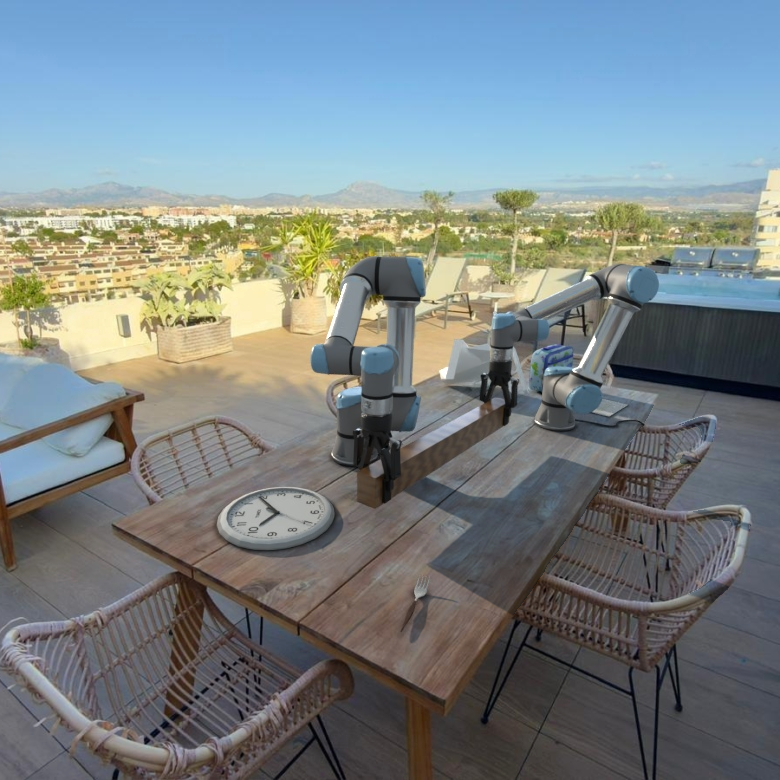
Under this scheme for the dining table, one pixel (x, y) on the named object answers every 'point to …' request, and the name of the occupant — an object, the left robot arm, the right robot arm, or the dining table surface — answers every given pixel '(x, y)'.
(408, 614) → the fork
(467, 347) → the white plastic object
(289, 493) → the wall clock
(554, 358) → the lunch box
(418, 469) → the post
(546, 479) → the dining table surface
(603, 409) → the invitation card
